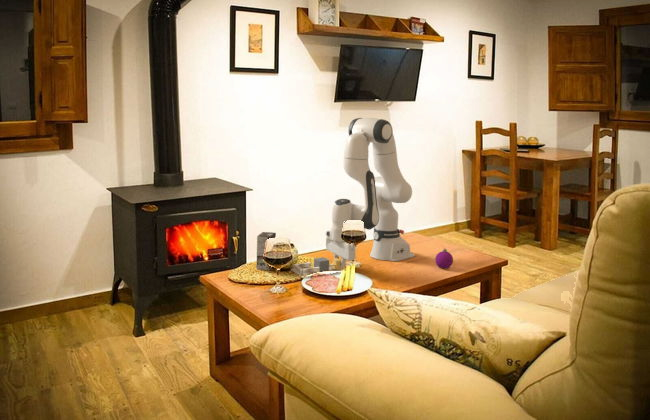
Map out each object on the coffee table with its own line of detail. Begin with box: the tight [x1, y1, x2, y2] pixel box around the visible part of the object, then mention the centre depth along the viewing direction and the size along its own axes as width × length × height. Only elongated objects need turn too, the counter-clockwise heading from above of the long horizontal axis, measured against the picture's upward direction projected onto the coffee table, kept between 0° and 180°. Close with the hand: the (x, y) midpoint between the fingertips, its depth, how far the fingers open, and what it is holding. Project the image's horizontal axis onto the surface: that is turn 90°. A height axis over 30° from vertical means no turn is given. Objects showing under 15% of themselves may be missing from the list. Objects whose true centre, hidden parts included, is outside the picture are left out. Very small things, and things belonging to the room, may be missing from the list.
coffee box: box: [256, 231, 277, 271], centre depth 271 cm, size 9×6×16 cm
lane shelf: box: [289, 261, 346, 279], centre depth 270 cm, size 26×13×4 cm, turn 120°
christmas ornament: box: [434, 247, 454, 269], centre depth 283 cm, size 8×8×10 cm
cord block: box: [313, 257, 342, 272], centre depth 271 cm, size 12×5×5 cm, turn 120°
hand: (339, 264), depth 275 cm, fingers closed on cord block, 3 cm apart
